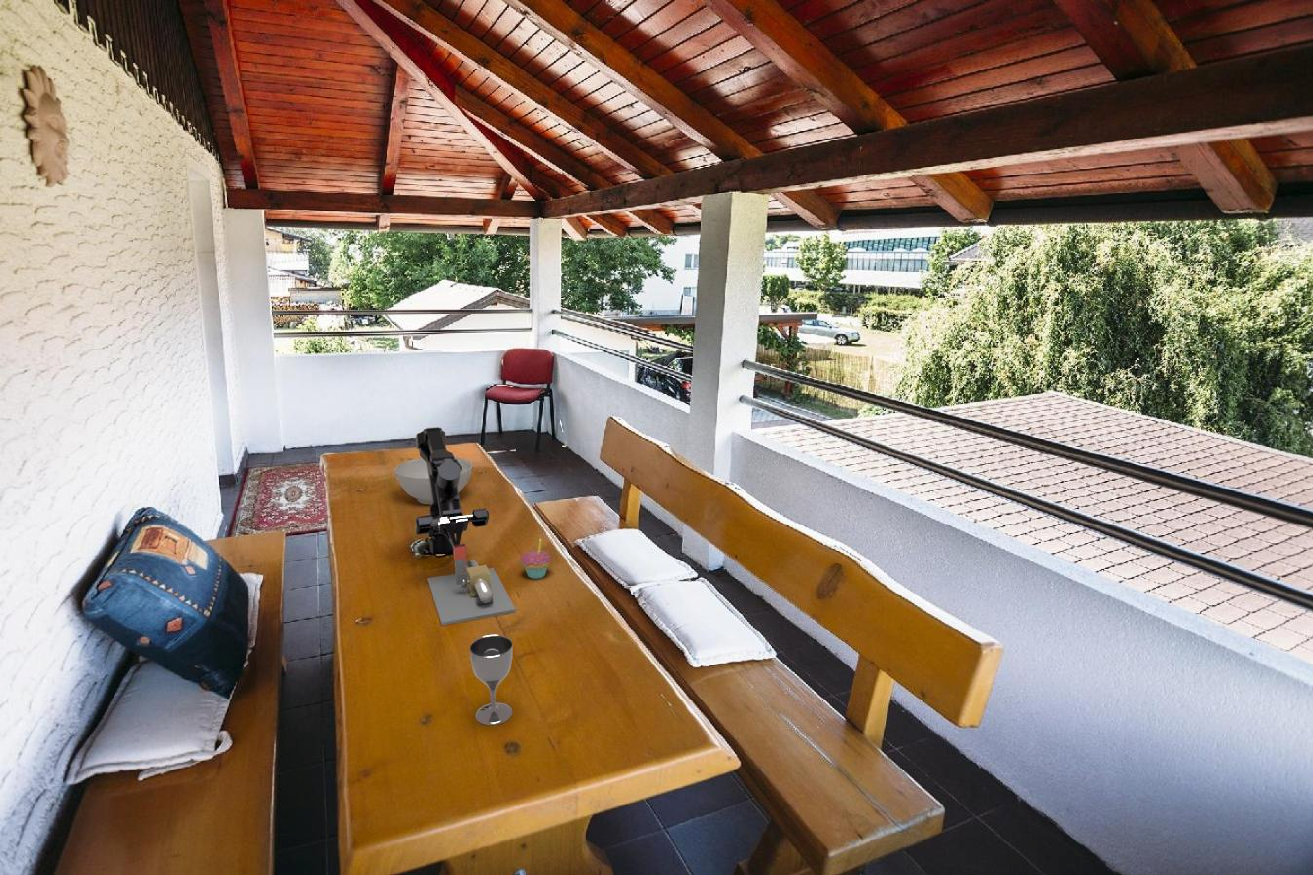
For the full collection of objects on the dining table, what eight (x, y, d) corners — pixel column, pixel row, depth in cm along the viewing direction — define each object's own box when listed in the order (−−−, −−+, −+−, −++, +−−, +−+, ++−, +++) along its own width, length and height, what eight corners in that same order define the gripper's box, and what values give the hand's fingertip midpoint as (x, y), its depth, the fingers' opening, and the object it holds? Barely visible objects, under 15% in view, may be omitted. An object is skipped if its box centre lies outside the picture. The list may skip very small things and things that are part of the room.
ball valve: (460, 577, 198) (459, 557, 196) (481, 574, 200) (480, 554, 199) (475, 610, 180) (473, 588, 179) (497, 606, 182) (496, 584, 181)
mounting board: (427, 580, 197) (427, 578, 197) (493, 570, 204) (493, 567, 204) (441, 625, 174) (441, 622, 174) (515, 611, 182) (515, 609, 181)
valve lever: (455, 586, 188) (452, 544, 185) (466, 584, 190) (464, 543, 187) (456, 590, 186) (454, 548, 183) (467, 588, 187) (465, 546, 184)
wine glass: (476, 701, 146) (473, 635, 142) (516, 700, 146) (514, 634, 143) (470, 727, 138) (466, 657, 134) (512, 725, 139) (509, 656, 135)
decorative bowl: (489, 496, 265) (488, 464, 262) (431, 517, 243) (429, 483, 240) (439, 482, 278) (437, 452, 275) (380, 501, 256) (377, 469, 253)
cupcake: (557, 572, 204) (556, 532, 201) (540, 584, 197) (539, 543, 194) (531, 566, 208) (530, 527, 205) (514, 578, 200) (512, 537, 197)
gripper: (479, 506, 206) (489, 557, 199) (411, 514, 198) (418, 567, 191) (484, 488, 197) (494, 540, 190) (412, 496, 189) (420, 551, 182)
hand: (457, 550), depth 189 cm, fingers closed
